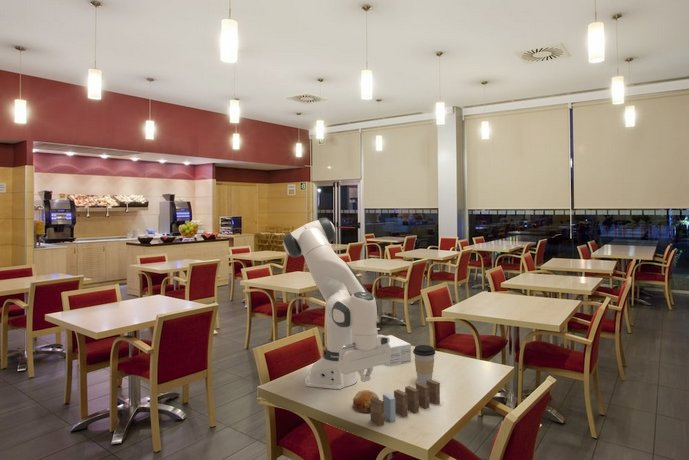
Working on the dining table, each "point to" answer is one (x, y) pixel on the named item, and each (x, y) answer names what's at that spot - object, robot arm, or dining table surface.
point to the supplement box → (399, 351)
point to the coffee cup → (424, 362)
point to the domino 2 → (389, 407)
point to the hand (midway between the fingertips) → (365, 380)
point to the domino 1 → (377, 411)
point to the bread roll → (363, 400)
